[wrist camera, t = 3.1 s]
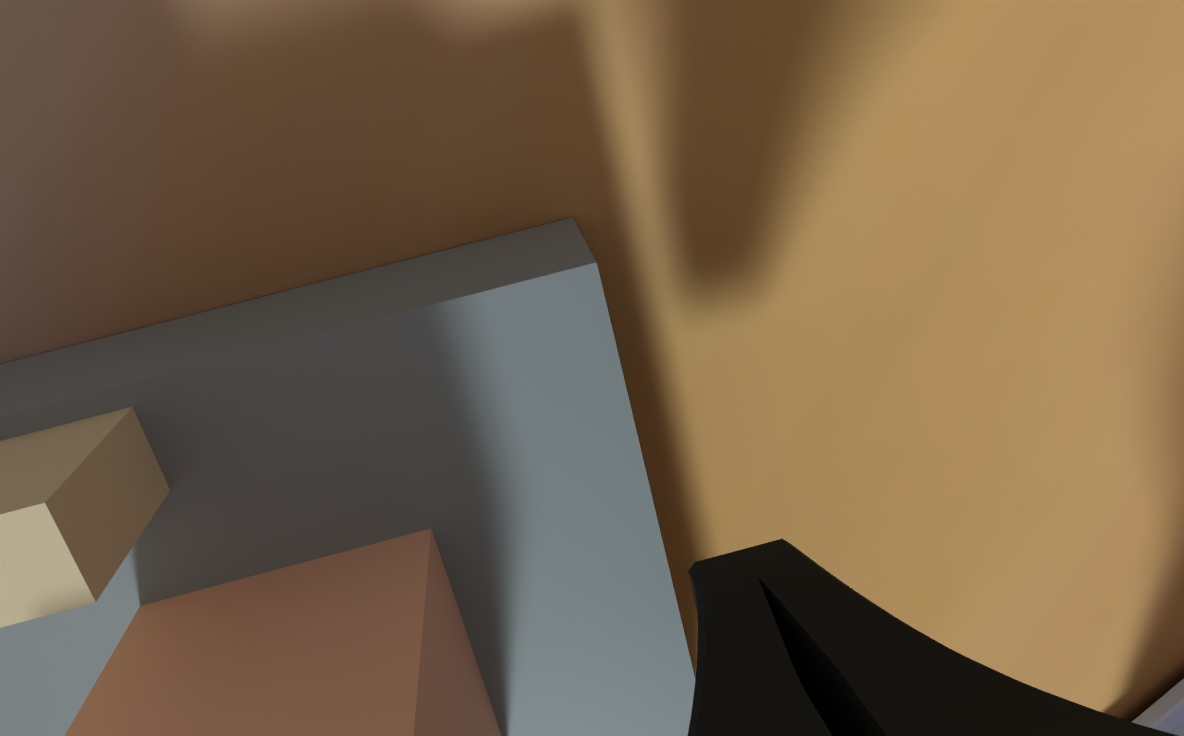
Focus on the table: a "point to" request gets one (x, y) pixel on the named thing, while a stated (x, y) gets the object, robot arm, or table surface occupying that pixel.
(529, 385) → the deck
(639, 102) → the table surface
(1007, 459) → the table surface
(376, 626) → the terracotta block
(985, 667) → the robot arm
